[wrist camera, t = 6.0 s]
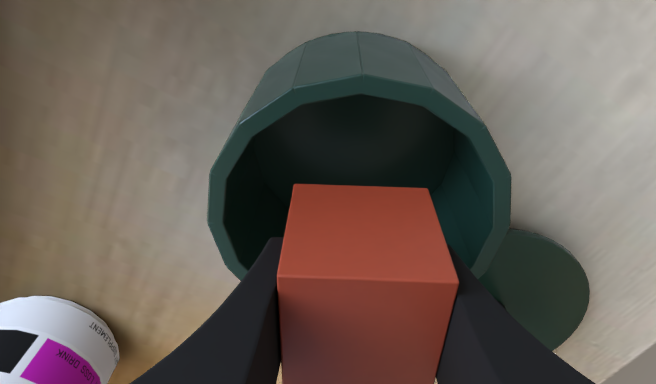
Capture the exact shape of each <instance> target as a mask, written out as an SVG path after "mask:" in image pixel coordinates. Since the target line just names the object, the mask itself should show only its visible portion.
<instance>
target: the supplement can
mask: <svg viewBox="0 0 656 384" xmlns="http://www.w3.org/2000/svg"><path fill="white" fill-rule="evenodd" d="M119 359H120V357H119V350H118V344H117V342H116V341H115V339H114V335H113V333H112V332H111V330H110V329H109V327H108V326H107V324H106V323H105V322H104V321H103V320H102V319H100V318H99V317H98V316H97V315H96V314H94V313H93V312H92V311H90V310H88V309H86V308H84V307H82V306H80V305H78V304H76V303H74V302H72V301H68V300H64V299H60V298H56V297H52V296H30V297H27V298H20V297H19V298H16V299H13V300H9V301H6V302H2V303H0V384H107V383H108V381H109V379H110V377H111V375H112V373H113V371H114V369H115V367H116V365H117V363H118V361H119Z"/></svg>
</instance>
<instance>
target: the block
mask: <svg viewBox="0 0 656 384" xmlns="http://www.w3.org/2000/svg"><path fill="white" fill-rule="evenodd" d="M458 286H459V280H458V277H457V274H456V271H455V268H454V265H453V262H452V259H451V256H450V253H449V250H448V247H447V244H446V241H445V238H444V235H443V232H442V229H441V226H440V223H439V220H438V217H437V214H436V211H435V208H434V205H433V202H432V199H431V196H430V193H429V190H428V188H409V187H379V186H350V185H320V184H294V186H293V192H292V197H291V202H290V208H289V213H288V218H287V223H286V229H285V234H284V239H283V245H282V250H281V255H280V261H279V266H278V271H277V292H278V311H279V329H280V348H281V366H282V384H434V382H435V378H436V374H437V370H438V366H439V362H440V358H441V354H442V350H443V346H444V342H445V338H446V334H447V330H448V326H449V322H450V318H451V314H452V310H453V306H454V302H455V298H456V294H457V290H458Z"/></svg>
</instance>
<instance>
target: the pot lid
mask: <svg viewBox="0 0 656 384" xmlns="http://www.w3.org/2000/svg"><path fill="white" fill-rule="evenodd" d="M478 280H479V281H480V283H481V284H482V285H483V286H484V287H485V288H486V289H487V290H488V292H489V293H490V294H491V295H492V296H493V297H494V298H495V299H496V300H497V301H498V302H499V304H500V305H501V306H502V307H503V308H504V309H505V310H506V311H507V312H508V313H509V314H510V315H511V316H512V317H513V318H514V319H515V320H516V321H517V322H518V323H520V324H521V325H522V326H523V327H524V328H525V329H526V330H527V331H528V332H530V333H531V334H532V335H533V336H534V337H535V338H536V339H538V340H539V341H540V342H541V343H542V344H543V345H545V346H546V347H547V348H548V349H549V350H551V351H553V350H554V349H556V348H557V347H558V346H560V345H561V344H562V343H563V342H564V341H566V340H567V339H568V338H569V337H570V336H571V335H572V333H573V332H574V331H575V330H576V329H577V327H578V326H579V324H580V323H581V321H582V320H583V317H584V315H585V313H586V311H587V307H588V303H589V294H590V290H589V283H588V279H587V277H586V274H585V272H584V270H583V268H582V267H581V265H580V264H579V262H578V261H577V259H576V258H575V257H574V256H573V255H572V254H571V253H570V252H569V251H568V250H567V249H566V248H564V247H563V246H562V245H560V244H559V243H557V242H555V241H553V240H551V239H549V238H547V237H544V236H542V235H539V234H536V233H532V232H528V231H523V230H515V229H509V230H508V232H507V234H506V236H505V238H504V239H503V241H502V243H501V245H500V247H499V249H498V251H497V253H496V255H495V257H494V259H493V260H492V262H491V264H490V266H489V268H488V270H486V272H485V273H484V274H483V275H482V276H480V277H479V278H478Z"/></svg>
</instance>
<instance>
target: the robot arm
mask: <svg viewBox="0 0 656 384" xmlns="http://www.w3.org/2000/svg"><path fill="white" fill-rule="evenodd" d="M283 239H284V237H272V238H270V239H269V240H268V242H267V244H266V245H265V247H264V249H263V250H262V252H261V254H260V255H259V257H258V258H257V260H256V261H255V263H254V264H253V266H252V267H251V268H250V270H249V271H248V272H247V274H246V275H245V277H244V278H243V279H242V281H241V282H240V283H239V284H238V286H237V287H236V288H235V289H234V291H233V292H232V293H231V294H230V295H229V296H228V298H227V299H226V300H225V301H224V302H223V304H222V305H221V306H220V307H219V308H218V309H217V310H216V311H215V312H214V313H213V314H212V315H211V317H210V318H209V319H208V320H207V321H206V322H205V323H204V324H203V325H202V326H201V327H199V328H198V329H197V330H196V331H195V332H194V333H193V334H192V335H191V336H190V337H189V338H187V339H186V340H185V341H184V342H183V343H182V344H181V345H180V346H178V347H177V348H176V349H175V350H174V351H172V352H171V353H170V354H169V355H168V356H166V357H165V358H164V359H162V360H161V361H160V362H158V363H157V364H156V365H154V366H153V367H152V368H150V369H149V370H148V371H147V372H145V373H144V374H143V375H141V376H140V377H138V378H137V379H136V380H134V381H133V382H131V383H130V384H276V381H277V376H278V372H279V367H280V363H281V348H280V329H279V311H278V292H277V271H278V266H279V261H280V255H281V250H282V245H283ZM447 247H448V250H449V253H450V256H451V259H452V262H453V265H454V268H455V271H456V274H457V277H458V280H459V286H458V290H457V294H456V298H455V302H454V306H453V310H452V314H451V318H450V322H449V326H448V330H447V334H446V338H445V342H444V346H443V350H442V354H441V358H440V362H439V366H438V370H437V374H436V378H437V382H438V384H595V383H594V382H592V381H591V380H589V379H588V378H587V377H585V376H584V375H582V374H581V373H580V372H578V371H577V370H575V369H574V368H573V367H571V366H570V365H569V364H568V363H566V362H565V361H564V360H562V359H561V358H560V357H558V356H557V355H556V354H554V353H553V352H552V351H551V350H549V349H548V348H547V347H546V346H545V345H543V344H542V343H541V342H540V341H539V340H538V339H536V338H535V337H534V336H533V335H532V334H531V333H530V332H528V331H527V330H526V329H525V328H524V327H523V326H522V325H521V324H520V323H518V322H517V321H516V320H515V319H514V318H513V317H512V316H511V315H510V314H509V313H508V312H507V311H506V310H505V309H504V308H503V307H502V306H501V305H500V304H499V302H498V301H497V300H496V299H495V298H494V297H493V296H492V295H491V294H490V293H489V292H488V290H487V289H486V288H485V287H484V286H483V285H482V284H481V283H480V281H479V280H478V279H477V278H476V277H475V275H474V274H473V273H472V272H471V271H470V269H469V268H468V267H467V266H466V265H465V263H464V262H463V261H462V260H461V258H460V257H459V256H458V255H457V253H456V252H455V251H454V250H453V248H452V247H451V246H450V245H449V244H447Z"/></svg>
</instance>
